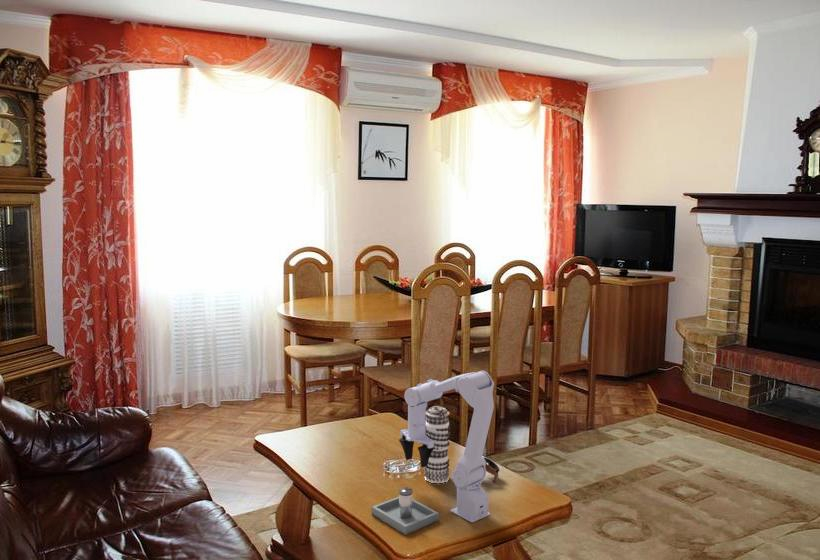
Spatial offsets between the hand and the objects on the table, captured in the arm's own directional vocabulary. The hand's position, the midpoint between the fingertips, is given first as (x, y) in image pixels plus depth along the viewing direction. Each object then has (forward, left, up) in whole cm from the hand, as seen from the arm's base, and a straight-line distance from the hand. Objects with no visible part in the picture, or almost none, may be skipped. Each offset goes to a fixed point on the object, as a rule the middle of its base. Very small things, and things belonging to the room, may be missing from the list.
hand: (416, 462), depth 221 cm
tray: (-12, +15, -9) cm, 21 cm away
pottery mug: (-8, -22, -10) cm, 26 cm away
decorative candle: (+2, -11, -10) cm, 15 cm away
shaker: (-12, +15, -9) cm, 21 cm away
